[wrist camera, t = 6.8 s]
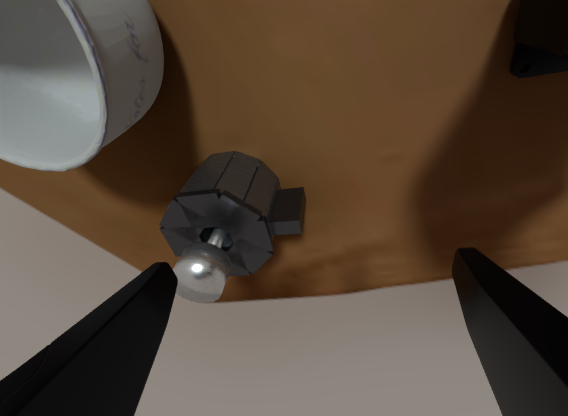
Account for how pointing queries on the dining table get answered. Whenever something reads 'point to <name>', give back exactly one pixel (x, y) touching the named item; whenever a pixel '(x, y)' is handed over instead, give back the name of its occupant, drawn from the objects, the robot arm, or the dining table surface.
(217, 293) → the plunger
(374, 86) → the dining table surface
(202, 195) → the octagonal grey mug
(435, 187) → the dining table surface
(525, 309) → the robot arm
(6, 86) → the teacup
